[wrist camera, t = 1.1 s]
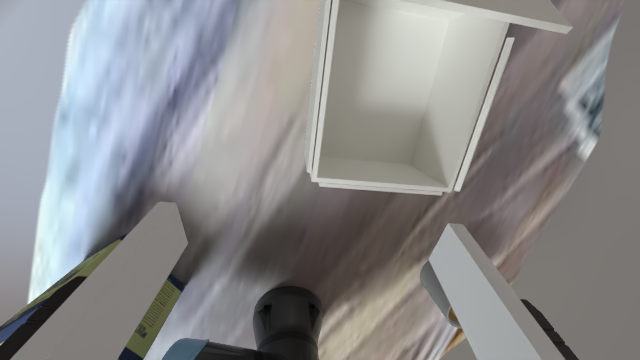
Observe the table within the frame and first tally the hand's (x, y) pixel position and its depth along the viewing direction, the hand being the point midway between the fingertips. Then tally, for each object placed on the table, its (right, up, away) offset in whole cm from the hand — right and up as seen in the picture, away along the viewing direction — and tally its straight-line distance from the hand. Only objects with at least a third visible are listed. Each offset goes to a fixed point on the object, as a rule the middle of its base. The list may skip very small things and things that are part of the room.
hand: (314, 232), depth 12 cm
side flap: (+20, +10, +16) cm, 27 cm away
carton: (+9, +17, +26) cm, 32 cm away
